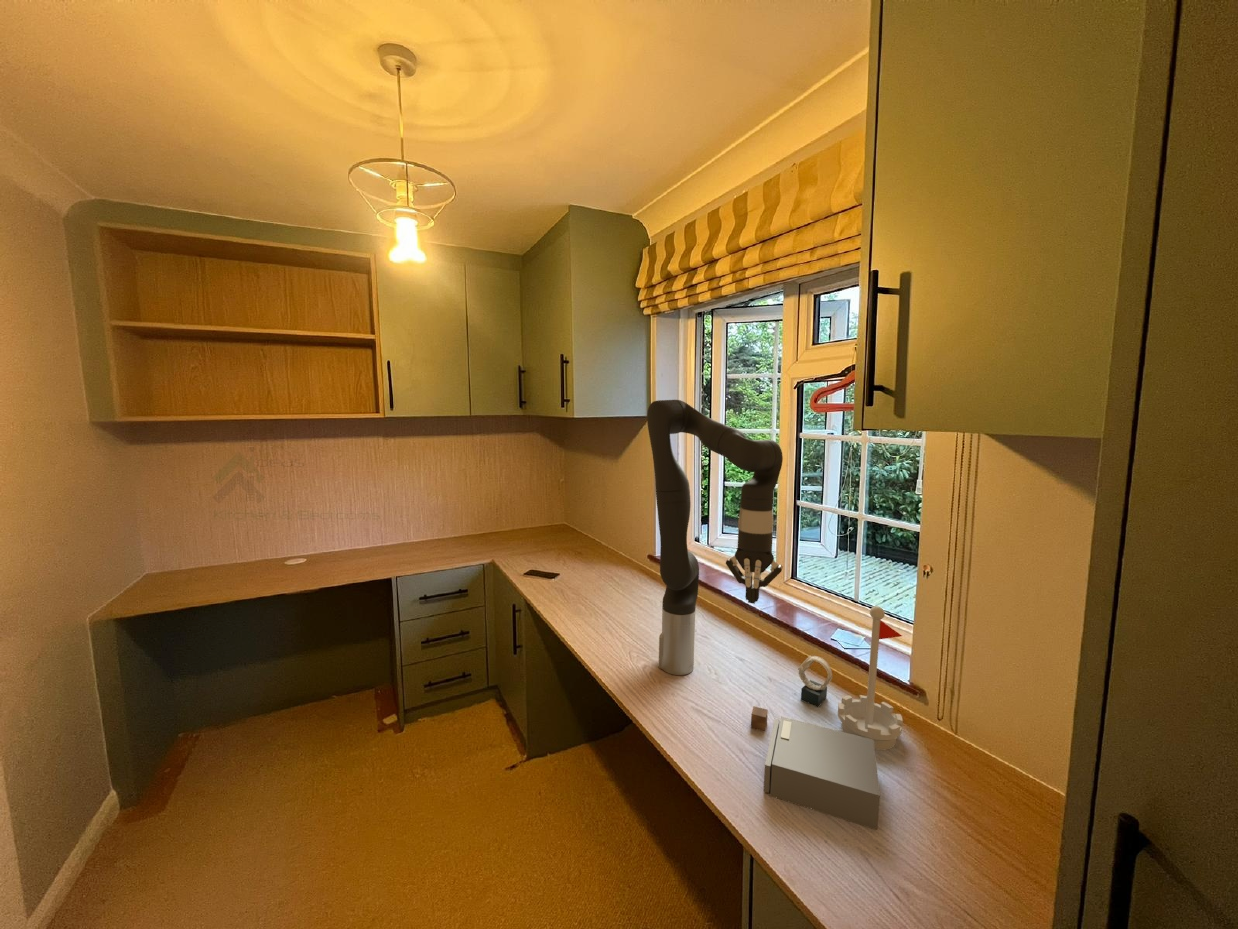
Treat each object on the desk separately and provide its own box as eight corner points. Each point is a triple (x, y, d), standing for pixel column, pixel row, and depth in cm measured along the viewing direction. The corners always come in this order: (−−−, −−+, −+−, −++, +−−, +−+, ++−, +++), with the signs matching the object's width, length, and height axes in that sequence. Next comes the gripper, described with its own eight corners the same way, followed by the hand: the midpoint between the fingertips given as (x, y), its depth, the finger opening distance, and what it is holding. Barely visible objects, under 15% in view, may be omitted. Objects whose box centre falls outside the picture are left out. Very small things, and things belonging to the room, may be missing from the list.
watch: (802, 688, 129) (804, 648, 128) (833, 701, 124) (836, 659, 122) (793, 697, 125) (795, 656, 124) (824, 710, 120) (827, 668, 118)
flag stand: (828, 734, 111) (837, 607, 108) (846, 708, 121) (855, 591, 117) (892, 762, 102) (904, 624, 99) (906, 732, 112) (917, 606, 109)
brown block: (750, 728, 113) (751, 713, 112) (752, 720, 115) (753, 706, 115) (765, 731, 111) (765, 717, 111) (767, 723, 114) (767, 709, 114)
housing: (770, 795, 93) (772, 763, 92) (779, 744, 107) (780, 715, 107) (877, 830, 86) (880, 794, 85) (871, 769, 100) (873, 738, 99)
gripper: (788, 528, 111) (783, 601, 113) (729, 521, 116) (726, 592, 118) (784, 535, 104) (780, 613, 106) (722, 528, 110) (719, 602, 112)
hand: (751, 602), depth 112 cm, fingers closed
